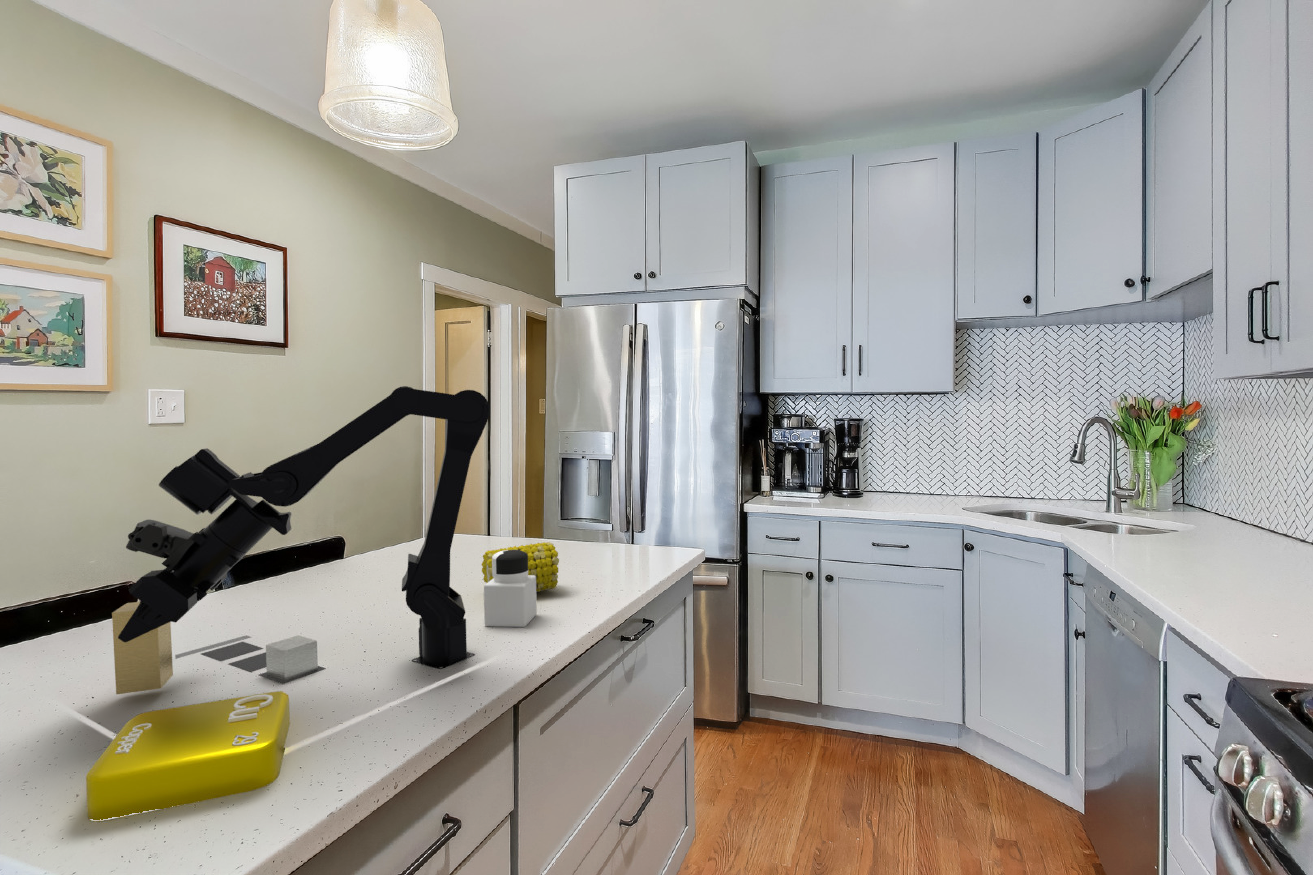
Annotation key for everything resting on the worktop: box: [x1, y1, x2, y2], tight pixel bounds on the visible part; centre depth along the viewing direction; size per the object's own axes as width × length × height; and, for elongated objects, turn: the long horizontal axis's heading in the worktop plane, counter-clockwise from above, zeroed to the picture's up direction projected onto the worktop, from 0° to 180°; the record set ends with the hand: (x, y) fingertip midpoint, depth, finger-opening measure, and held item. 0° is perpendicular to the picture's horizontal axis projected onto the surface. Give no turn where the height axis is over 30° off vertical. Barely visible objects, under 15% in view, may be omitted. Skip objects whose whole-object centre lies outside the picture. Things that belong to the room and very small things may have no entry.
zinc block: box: [265, 635, 319, 681], centre depth 91 cm, size 4×4×4 cm
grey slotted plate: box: [174, 634, 327, 685], centre depth 95 cm, size 26×10×1 cm, turn 59°
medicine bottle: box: [483, 550, 538, 628], centre depth 114 cm, size 7×7×12 cm
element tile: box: [85, 690, 291, 820], centre depth 67 cm, size 15×15×5 cm
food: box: [481, 541, 560, 593], centre depth 130 cm, size 15×12×10 cm
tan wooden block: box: [111, 601, 174, 695], centre depth 83 cm, size 4×4×10 cm
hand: (129, 633), depth 82 cm, fingers closed on tan wooden block, 4 cm apart
